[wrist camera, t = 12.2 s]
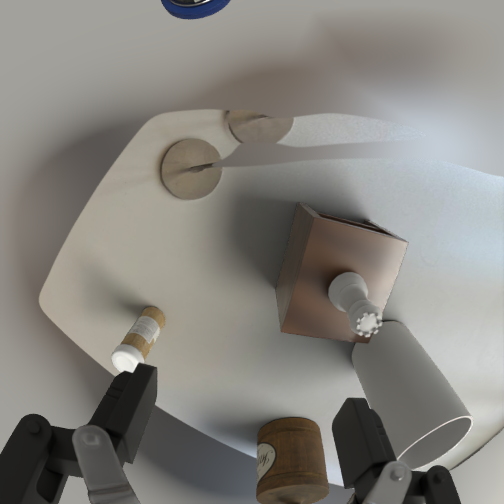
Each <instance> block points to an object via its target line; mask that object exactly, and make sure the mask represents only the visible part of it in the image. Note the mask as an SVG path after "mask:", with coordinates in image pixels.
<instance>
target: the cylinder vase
mask: <svg viewBox="0 0 504 504" xmlns="http://www.w3.org/2000/svg"><path fill="white" fill-rule="evenodd" d="M377 329H378V330H379V331H378V332H377V333H376V334H374V333H373V335H372V337H371V339H370V342H369V344H366V343H356V344H355V346H354V348H353V351H352V363H353V366H354V368H355V371H356V373H357V375H358V378H359V380H360V383H361V385H362V388H363V390H364V393H365V395H366V397H367V400H368V402H369V405H370V408H371V409H374V410H375V412H376V413H377V414H378V415H379V416H380V418H381V420H382V423H383V425H384V426H383V427H384V428H385V430H386V435H388V438H389V441H390V443H391V446H392V448H393V451H394V454H395V456H396V459H397V461H400V462H403V463H405V464H406V465H407V466H408V467H409V468H410V470H411V471H412V470H416V469H419V468H421V467H424V466H426V465H428V464H430V463H432V462H434V461H436V460H437V459H439V458H440V457H442V456H443V455H445V454H446V453H448V452H449V451H450V450H452V449H453V448H454V447H455V446H456V445H457V444H458V443H459V442H460V441H461V440H462V439H463V438H464V437H465V436H466V435H467V433H468V432H469V430H470V429H471V427H472V424H473V418H472V416H471V415H470V413H469V412H468V410H467V409H466V407H465V406H464V404H463V403H462V401H461V400H460V398H459V397H458V395H457V394H456V392H455V391H454V389H453V388H452V387H451V385H450V384H449V382H448V381H447V380H446V378H445V377H444V375H443V374H442V373H441V371H440V370H439V369H438V367H437V366H436V365H435V363H434V362H433V360H432V359H431V358H430V357H429V355H428V354H427V353H426V351H425V350H424V349H423V347H422V346H421V345H420V343H419V342H418V341H417V340H416V338H415V337H414V336H413V335H412V333H411V332H410V331H409V329H408V328H407V327H406V326H405V325H403V324H402V323H399V322H395V321H387V322H383V323H382V326H378V328H377Z"/></svg>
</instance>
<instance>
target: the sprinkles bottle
mask: <svg viewBox="0 0 504 504" xmlns="http://www.w3.org/2000/svg"><path fill="white" fill-rule="evenodd" d="M164 325H165V317H164V315H163V313H162V312H161V311H160V310H159V309H157V308H155V307H148V308H146V309H144V310H143V312H142V314H141V316H140V317H139V318H138V319H137V320H136V322H135V323H134V325H133V326H132V328H131V329H130V330H129V332H128V333H127V335H126V336H125V338H124V340H123V341H122V343H121V344H120V345H119V346H117V348H116V349H115V350H114V352H113V354H112V362H113V364H114V366H115V367H116V368H117V369H118V370H119V371H120V372H123V371H128V372H131V373H133V372H134V370H135V368H136V366H137V364H138V363H139V362H140V363H144V360H145V358H146V357H147V355H148V353H149V351H150V349H151V348H152V346H153V344H154V343H155V341H156V339H157V337H158V335H159V333H160V331H161V329H162V328H163V326H164Z"/></svg>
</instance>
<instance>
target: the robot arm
mask: <svg viewBox="0 0 504 504" xmlns="http://www.w3.org/2000/svg"><path fill="white" fill-rule="evenodd" d="M212 1H213V0H170V2H171V3H172V4H174V5H176V6H178V7H182V8H194V7H199V6H202V5H205V4H208V3H210V2H212ZM156 397H157V367H154V366H150V365H147V364H144V363H140V362H139V363H138V364H137V366H136V368H135V370H134V372H133V373H131V372H128V371H123V372H122V373H120V374H119V375H117V376H116V377H115V378H114V380H113V382H112V383H111V385H110V388H108V390H107V392H106V395H105V396H104V397H103V399H102V401H101V402H100V404H99V406H98V408H97V409H96V411H95V413H94V415H93V416H92V418H91V420H90V421H89V423H88V424H87V425H83V426H81V427H79V428H77V429H66V428H61V427H55V426H51V425H50V423H49V422H48V421H47V419H45V418H44V417H43V416H41V415H38V414H29V415H26V416H24V417H23V418H22V419H21V420H20V422H19V423H18V425H17V426H16V428H15V430H14V431H13V433H12V435H11V436H10V438H9V440H8V442H7V443H6V445H5V447H4V449H3V451H2V452H1V454H0V504H58V503H59V500H60V498H61V495H62V492H63V489H64V487H65V484H66V481H67V478H68V476H69V475H70V476H75V477H81V478H84V481H85V484H86V486H87V489H88V497H89V500H90V503H91V504H140V502H139V500H138V498H137V496H136V494H135V493H134V491H133V489H132V487H131V485H130V484H129V482H128V480H127V477H126V475H125V473H124V471H123V469H122V468H123V465H124V463H125V462H128V463H131V464H133V461H134V458H135V456H136V453H137V450H138V447H139V444H140V441H141V439H142V436H143V434H144V431H145V428H146V426H147V423H148V420H149V418H150V415H151V413H152V410H153V407H154V405H155V402H156ZM383 426H384V425H383V423H382V420H381V418H380V416H379V415H378V414H377V413H376V412H375V410H374V409H370V408H369V405H368V403H367V401H366V399H365V398H347V399H346V400H345V402H344V404H343V405H342V407H341V409H340V410H339V412H338V413H337V415H336V416H335V418H334V420H333V423H332V432H333V437H334V441H335V446H336V450H337V455H338V459H339V464H340V468H341V473H342V478H343V483H344V488H345V489H349V488H354V489H355V493H354V494H353V495H352V496H351V498H350V500H349V501H348V503H347V504H425V503H426V504H461V502H460V499H459V496H458V493H457V490H456V487H455V485H454V482H453V480H452V477H451V474H450V473H449V471H448V470H447V469H446V468H445V467H443V466H440V465H436V466H433V467H431V468H430V469H429V470H428V471H427V472H421V471H411V470H410V468H409V467H408V466H407V465H406V464H405V463H403V462H400V461H397V459H396V456H395V454H394V451H393V448H392V446H391V443H390V441H389V438H388V435H386V430H385V428H384V427H383Z"/></svg>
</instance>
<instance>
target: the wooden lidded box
mask: <svg viewBox="0 0 504 504" xmlns="http://www.w3.org/2000/svg"><path fill="white" fill-rule="evenodd" d="M407 246H408V242H407V241H405V240H404V239H402V238H400V237H399V236H397V235H395V234H393V233H392V232H390V231H388V230H386V229H384V228H383V227H381V226H379V225H377V224H375V223H374V222H372V221H369V220H365V222H364V224H361V223H357V222H354V221H350V220H346V219H342V218H339V217H335V216H331V215H327V214H323V213H319V212H315V211H313V210H312V209H311V208H310V207H309V206H307V205H306V204H304V203H300V202H298V204H297V208H296V212H295V216H294V220H293V224H292V228H291V232H290V236H289V240H288V244H287V248H286V252H285V256H284V260H283V264H282V267H281V271H280V275H279V279H278V282H277V286H276V297H277V304H278V312H279V320H280V329H281V332H284V333H290V334H297V335H303V336H310V337H317V338H324V339H331V340H339V341H348V342H356V343H366V344H369V342H370V339H371V337H372V335H373V333H374V332H372V333H370V337H365V336H364V335H362V336H360V335H359V334H356V333H354V332H353V331H352V329H351V326H350V321H349V318H348V313H347V312H344V311H341V310H338V309H337V308H336V307H335V306H334V305H333V303H332V302H331V301H330V298H329V296H328V294H329V287H330V285H331V283H332V281H333V280H334V279H335V278H336V277H337V276H339V275H341V274H343V273H346V272H354V273H356V274H359V275H360V276H361V277H362V278H363V279H364V282H365V283H366V286H367V289H368V293H367V299H368V300H369V301H371V302H372V303H373V304H374V305H375V306H378V307H379V309H380V310H381V312H382V313H383V310H384V308H385V306H386V303H387V301H388V298H389V296H390V293H391V291H392V288H393V286H394V283H395V280H396V278H397V275H398V272H399V269H400V267H401V264H402V261H403V258H404V255H405V252H406V249H407Z"/></svg>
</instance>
